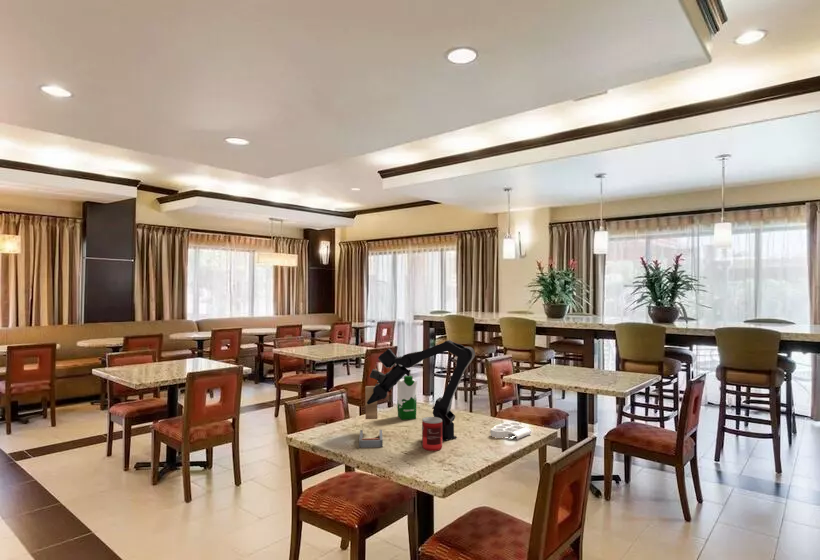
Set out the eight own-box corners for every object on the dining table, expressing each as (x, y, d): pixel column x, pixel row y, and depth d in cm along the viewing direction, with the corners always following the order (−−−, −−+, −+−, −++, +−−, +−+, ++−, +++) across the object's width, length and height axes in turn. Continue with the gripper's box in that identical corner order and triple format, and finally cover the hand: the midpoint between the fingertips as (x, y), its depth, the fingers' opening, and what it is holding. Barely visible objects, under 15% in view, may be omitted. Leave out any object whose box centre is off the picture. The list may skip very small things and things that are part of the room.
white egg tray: (512, 443, 193) (482, 436, 203) (535, 434, 206) (505, 427, 216) (512, 435, 193) (482, 428, 203) (535, 426, 206) (505, 420, 216)
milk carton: (400, 420, 226) (400, 377, 227) (395, 416, 235) (395, 374, 235) (418, 419, 229) (418, 376, 229) (412, 414, 237) (412, 373, 238)
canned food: (431, 443, 191) (431, 415, 192) (446, 448, 186) (446, 419, 186) (417, 447, 186) (417, 419, 186) (433, 452, 180) (433, 422, 181)
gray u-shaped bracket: (382, 447, 187) (382, 440, 187) (359, 447, 186) (359, 441, 186) (381, 435, 202) (381, 429, 202) (360, 436, 201) (360, 430, 201)
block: (377, 419, 204) (377, 388, 204) (365, 419, 204) (365, 388, 204) (377, 416, 209) (377, 385, 209) (365, 416, 209) (365, 386, 209)
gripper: (382, 359, 216) (358, 384, 216) (378, 366, 198) (351, 393, 198) (400, 377, 216) (375, 402, 216) (397, 385, 197) (370, 412, 197)
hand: (368, 402), depth 207 cm, fingers closed on block, 5 cm apart
